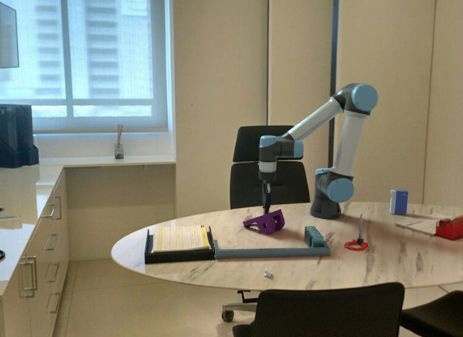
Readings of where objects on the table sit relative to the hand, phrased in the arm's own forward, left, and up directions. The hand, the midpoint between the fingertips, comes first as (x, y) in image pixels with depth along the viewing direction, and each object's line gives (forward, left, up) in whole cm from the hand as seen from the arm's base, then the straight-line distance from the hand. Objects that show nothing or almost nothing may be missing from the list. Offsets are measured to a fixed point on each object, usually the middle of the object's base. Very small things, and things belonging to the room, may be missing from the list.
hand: (265, 221), depth 220 cm
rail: (+4, +28, -2) cm, 28 cm away
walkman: (-69, -15, -2) cm, 71 cm away
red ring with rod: (-31, +31, -2) cm, 44 cm away
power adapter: (+8, +58, -2) cm, 58 cm away
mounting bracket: (+3, +6, -2) cm, 7 cm away
